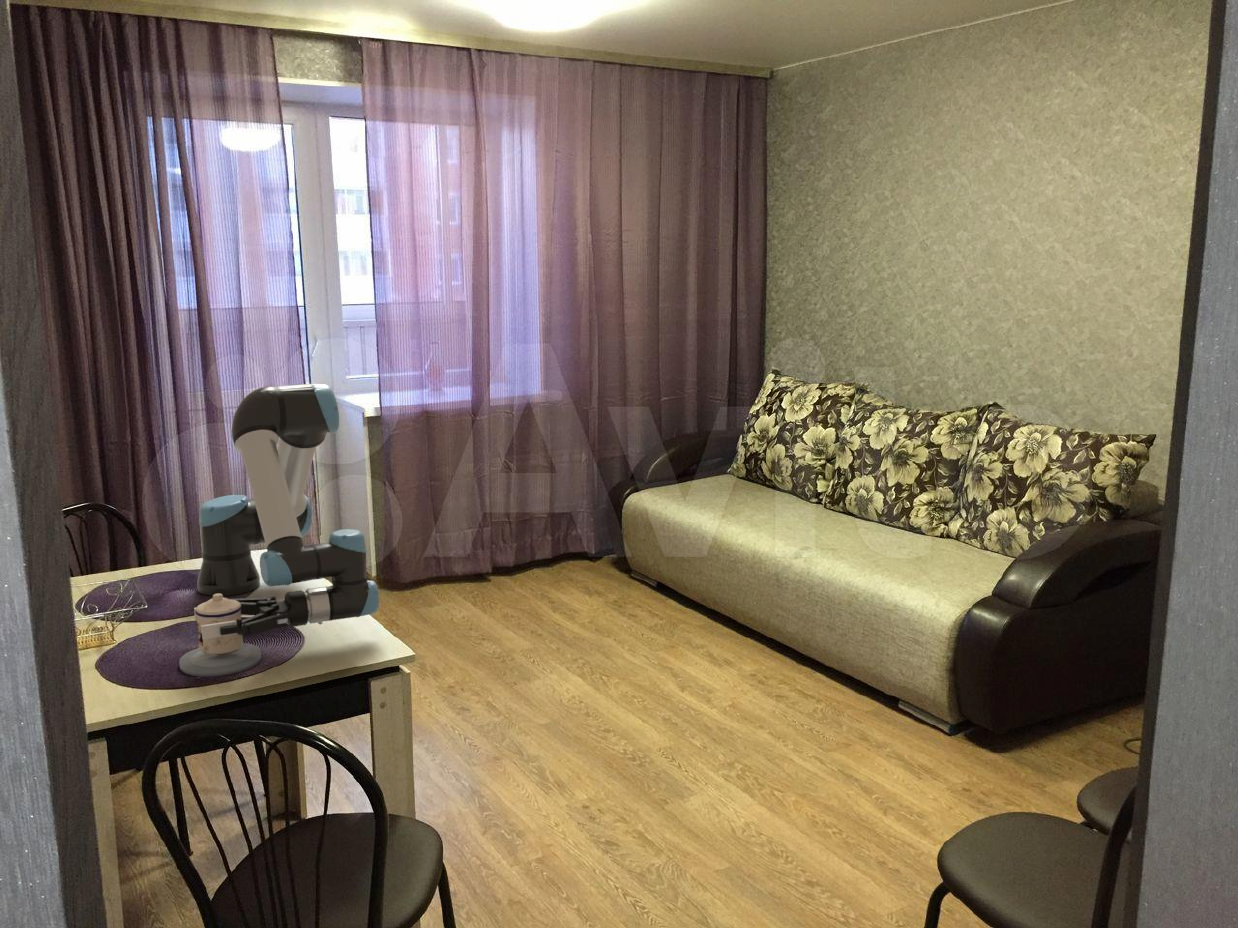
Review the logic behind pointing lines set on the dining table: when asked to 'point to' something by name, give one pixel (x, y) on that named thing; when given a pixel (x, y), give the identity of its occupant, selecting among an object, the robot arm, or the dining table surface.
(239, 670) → the dish
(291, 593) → the robot arm
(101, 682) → the dining table surface
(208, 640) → the teacup with lid
